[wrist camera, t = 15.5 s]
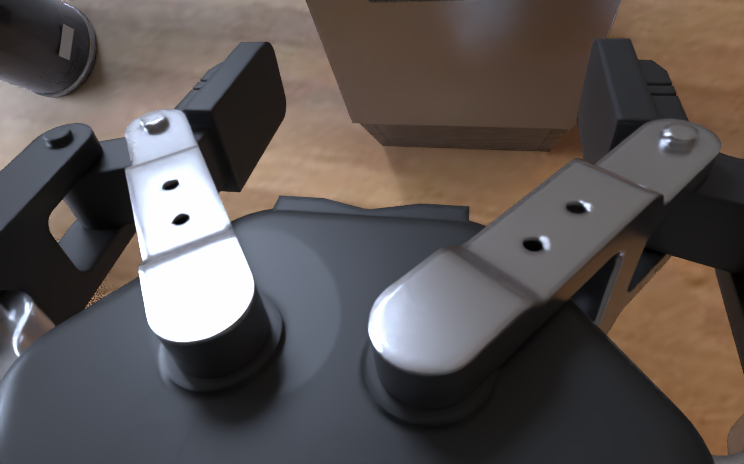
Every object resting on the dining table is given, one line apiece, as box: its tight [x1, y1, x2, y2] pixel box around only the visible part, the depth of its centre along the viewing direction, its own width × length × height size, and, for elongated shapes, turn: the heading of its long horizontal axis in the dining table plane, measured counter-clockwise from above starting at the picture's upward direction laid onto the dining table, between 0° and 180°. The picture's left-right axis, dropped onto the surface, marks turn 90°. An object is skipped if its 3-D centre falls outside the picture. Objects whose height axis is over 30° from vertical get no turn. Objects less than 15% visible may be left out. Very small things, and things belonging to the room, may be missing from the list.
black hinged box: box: [360, 123, 568, 152], centre depth 38 cm, size 17×14×10 cm
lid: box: [306, 0, 622, 129], centre depth 23 cm, size 18×14×6 cm
